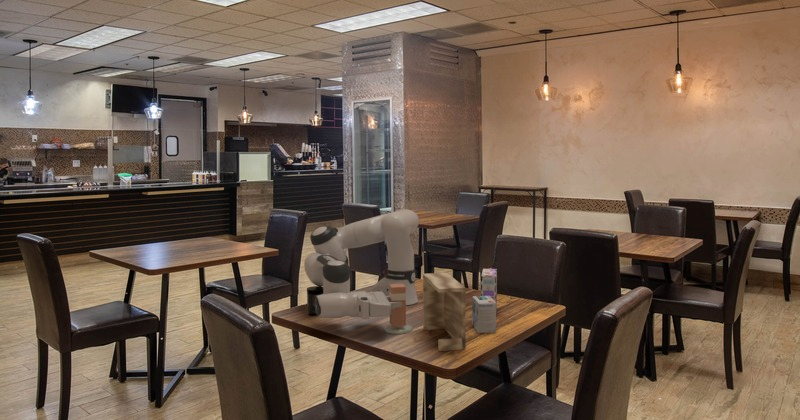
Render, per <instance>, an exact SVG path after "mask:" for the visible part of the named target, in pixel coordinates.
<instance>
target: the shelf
mask: <svg viewBox="0 0 800 420" xmlns="http://www.w3.org/2000/svg"><path fill="white" fill-rule="evenodd" d="M422 296H423V297H422V310H423V311H422V312H423V313H422V317H423V318H422V319H423V320H422V321H423V322H422V323H423V325H422V326H423V328H422V329H423V331H431V330H445V331H446V332H447V333H448V335H449V336H450V337H451V338H438V340H437V341H438V343H437V345H438V346H437V347H438V348H437V349H438V352H445V351H446V352H447V351H448V352H449V351H458V350H466V341H467V339H466V338H467V337H466V336H467V335H466V331H467V330H466V325H467V324H466V321H467V320H466V319H467V318H466V317H467V315H466V287H465V286H464V285H463V284H461V283H460V282H459V281H458V279H457V280H456V278H454V277H453V276H452V275H450V274H449V273H448V272H433V273H432V272H431V273H422Z"/></svg>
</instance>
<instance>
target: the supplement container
mask: <svg viewBox="0 0 800 420" xmlns="http://www.w3.org/2000/svg"><path fill="white" fill-rule="evenodd" d="M322 294H323V286H317V285H315V286H314V285H313V286H309V287H308V286H307V288H306V303H307V311H306V312H307V315H309V314H310V315H309V316H311V315H317V314H316V311H315V297H316V296H318V295H322Z"/></svg>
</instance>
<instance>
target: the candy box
mask: <svg viewBox="0 0 800 420" xmlns="http://www.w3.org/2000/svg"><path fill="white" fill-rule="evenodd" d="M497 272H498V271H497V268H482V271H481V275H480V296H490V297H491V298H492V299H493V300H494V301H495V302H496V310H497V309H498V308H497V306H498V305H497V303H498V302H497V301H498V300H497V298H498V295H497V294H498V292H497V291H498V289H497V285H498V284H497V281H498V275H497V274H498V273H497Z"/></svg>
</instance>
